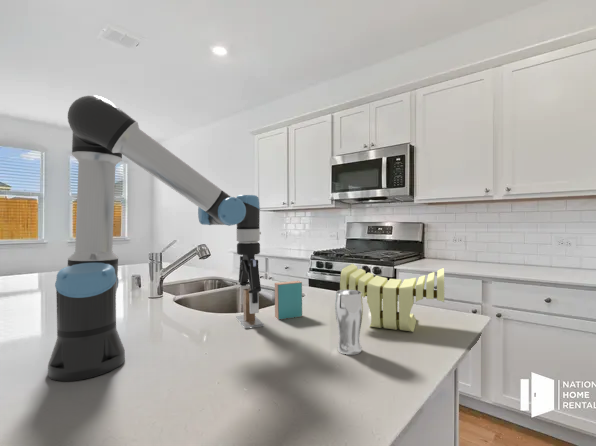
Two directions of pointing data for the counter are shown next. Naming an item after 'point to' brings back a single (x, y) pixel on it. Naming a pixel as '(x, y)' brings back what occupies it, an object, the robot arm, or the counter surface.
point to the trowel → (248, 313)
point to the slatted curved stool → (391, 295)
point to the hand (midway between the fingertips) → (249, 308)
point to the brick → (288, 299)
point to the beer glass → (349, 320)
